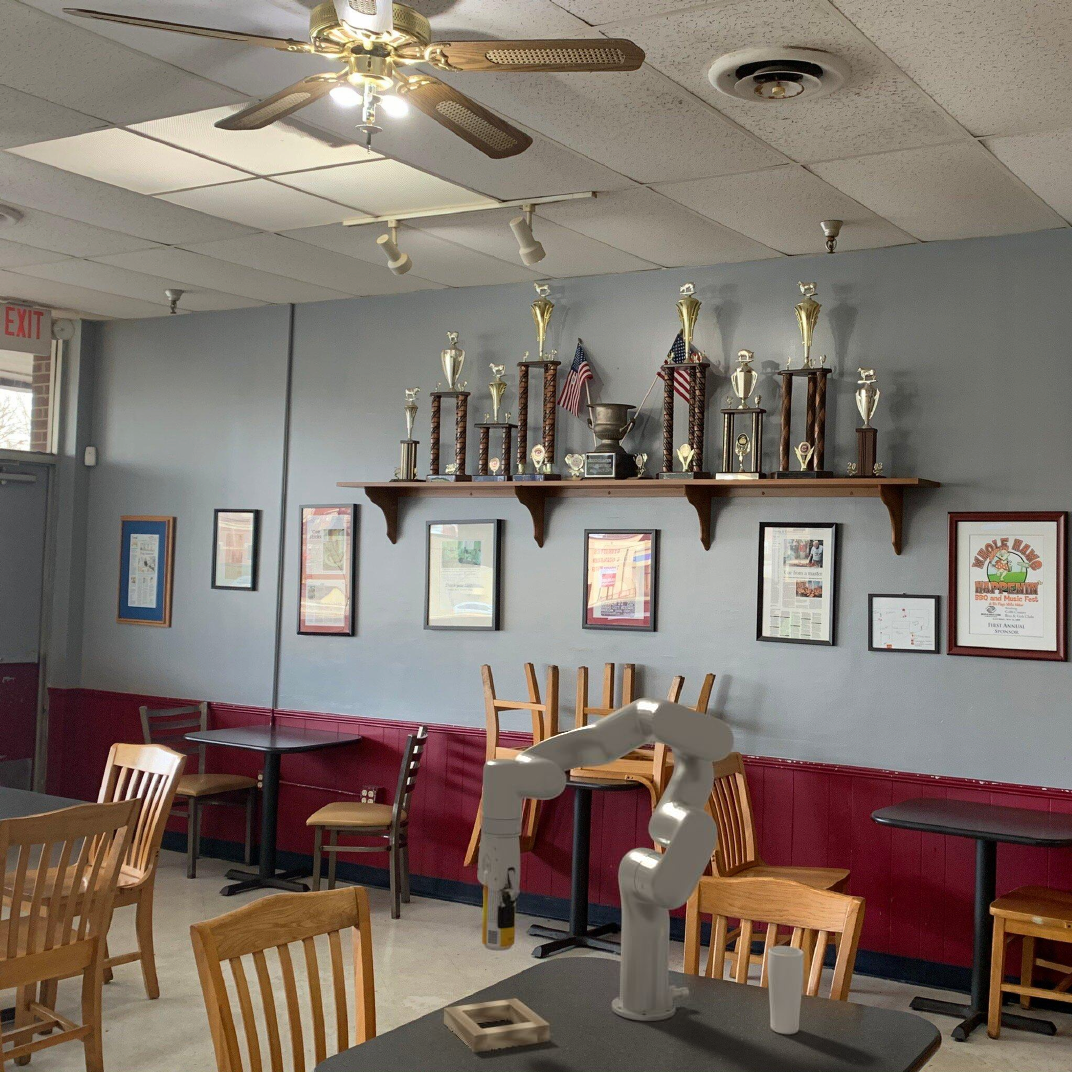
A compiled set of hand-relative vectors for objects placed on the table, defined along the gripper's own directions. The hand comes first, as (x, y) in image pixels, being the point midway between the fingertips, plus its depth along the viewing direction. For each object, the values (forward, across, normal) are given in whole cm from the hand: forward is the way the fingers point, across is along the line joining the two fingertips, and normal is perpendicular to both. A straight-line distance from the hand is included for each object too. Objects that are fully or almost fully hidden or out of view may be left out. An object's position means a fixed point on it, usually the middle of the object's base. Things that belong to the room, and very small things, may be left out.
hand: (498, 921), depth 225 cm
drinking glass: (+20, +19, +52) cm, 59 cm away
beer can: (+5, 0, 0) cm, 5 cm away
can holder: (+20, 0, 0) cm, 20 cm away
